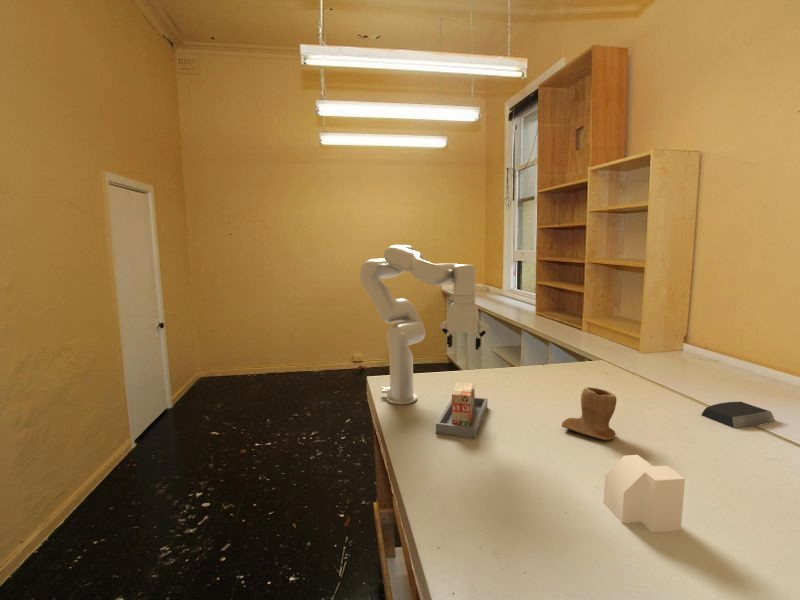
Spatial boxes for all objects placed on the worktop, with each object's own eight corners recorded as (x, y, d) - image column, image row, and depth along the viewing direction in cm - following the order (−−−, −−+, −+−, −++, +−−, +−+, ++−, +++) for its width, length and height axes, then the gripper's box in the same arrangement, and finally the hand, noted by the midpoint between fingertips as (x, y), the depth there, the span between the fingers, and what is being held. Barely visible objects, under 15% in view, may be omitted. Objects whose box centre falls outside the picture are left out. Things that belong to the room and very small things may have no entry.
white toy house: (680, 530, 90) (684, 478, 89) (631, 533, 89) (634, 481, 88) (647, 500, 101) (651, 454, 99) (603, 503, 100) (605, 456, 98)
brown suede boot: (621, 433, 136) (623, 389, 134) (608, 446, 128) (610, 399, 126) (575, 420, 147) (576, 379, 145) (560, 431, 139) (562, 388, 137)
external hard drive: (777, 423, 144) (778, 411, 143) (736, 430, 138) (737, 419, 138) (737, 409, 156) (738, 398, 156) (698, 415, 151) (699, 405, 150)
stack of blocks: (458, 405, 161) (458, 374, 159) (474, 406, 159) (475, 375, 157) (451, 428, 140) (451, 393, 138) (470, 430, 139) (470, 395, 137)
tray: (435, 433, 138) (435, 423, 138) (454, 403, 164) (454, 395, 164) (474, 439, 134) (474, 428, 133) (487, 407, 160) (487, 398, 159)
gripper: (437, 300, 144) (437, 348, 146) (487, 302, 138) (486, 352, 140) (442, 297, 151) (442, 343, 153) (490, 299, 144) (490, 347, 147)
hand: (463, 347), depth 146 cm, fingers open, 9 cm apart
